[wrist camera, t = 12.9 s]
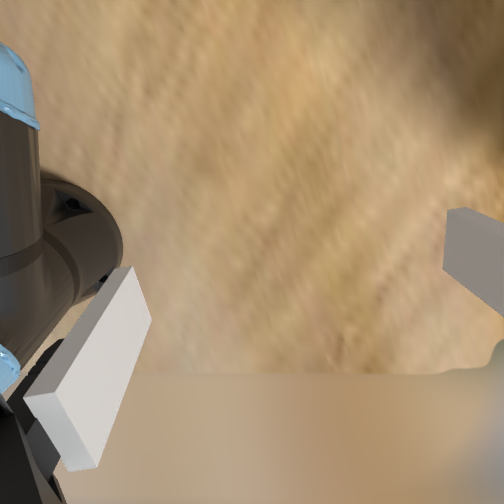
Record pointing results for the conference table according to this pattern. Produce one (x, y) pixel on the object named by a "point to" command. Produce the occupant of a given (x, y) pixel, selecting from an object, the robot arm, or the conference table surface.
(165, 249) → the conference table surface
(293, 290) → the conference table surface
